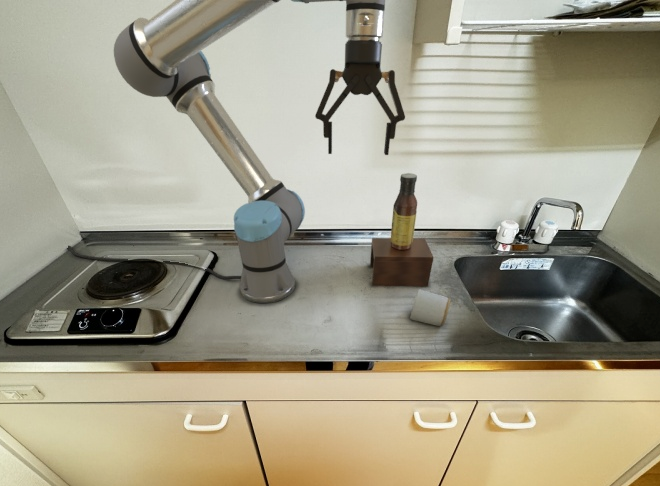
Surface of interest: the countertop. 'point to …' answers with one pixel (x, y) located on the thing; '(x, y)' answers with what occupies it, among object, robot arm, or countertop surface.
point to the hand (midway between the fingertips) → (358, 153)
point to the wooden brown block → (400, 263)
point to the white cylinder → (430, 308)
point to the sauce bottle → (404, 213)
